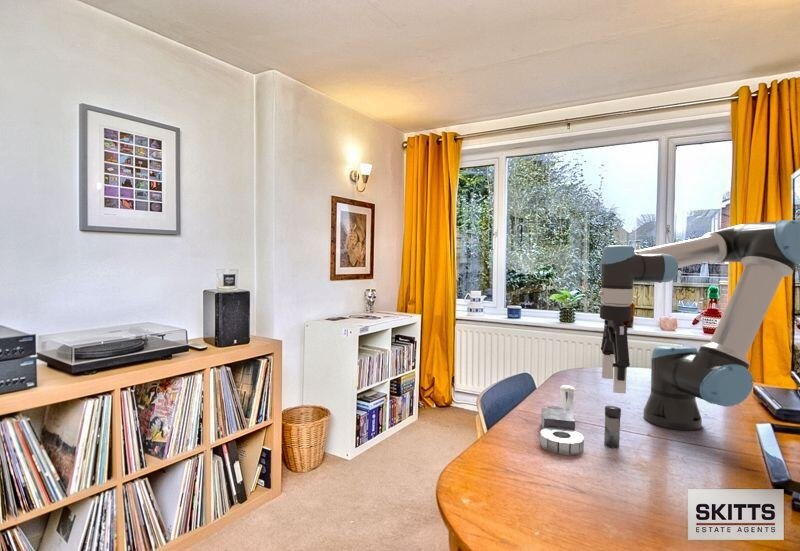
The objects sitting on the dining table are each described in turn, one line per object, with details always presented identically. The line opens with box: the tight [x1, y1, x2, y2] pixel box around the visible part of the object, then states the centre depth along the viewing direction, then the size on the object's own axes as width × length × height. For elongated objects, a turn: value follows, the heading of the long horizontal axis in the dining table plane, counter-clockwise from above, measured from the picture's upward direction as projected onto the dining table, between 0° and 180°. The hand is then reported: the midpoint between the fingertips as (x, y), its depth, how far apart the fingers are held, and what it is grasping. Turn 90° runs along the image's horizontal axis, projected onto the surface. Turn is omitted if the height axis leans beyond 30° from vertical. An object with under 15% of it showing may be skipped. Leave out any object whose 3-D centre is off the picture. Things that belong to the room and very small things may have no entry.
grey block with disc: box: [539, 406, 585, 456], centre depth 121 cm, size 10×22×5 cm, turn 166°
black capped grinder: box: [603, 405, 622, 449], centre depth 116 cm, size 4×4×10 cm
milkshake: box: [559, 383, 579, 415], centre depth 140 cm, size 4×5×10 cm
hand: (612, 385), depth 116 cm, fingers open, 13 cm apart
